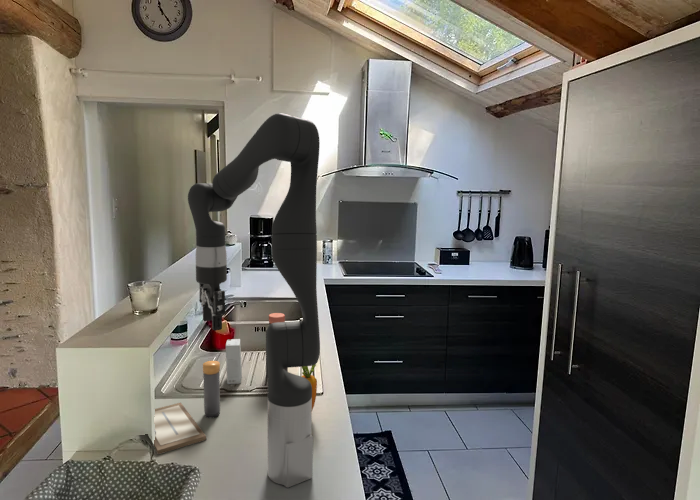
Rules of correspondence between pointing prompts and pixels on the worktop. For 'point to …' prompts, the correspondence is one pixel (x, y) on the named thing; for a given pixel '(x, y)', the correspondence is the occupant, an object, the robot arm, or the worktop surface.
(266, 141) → the robot arm
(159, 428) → the writing board
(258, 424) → the worktop surface
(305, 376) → the carrot
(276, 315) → the bottle
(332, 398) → the worktop surface
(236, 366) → the skincare box
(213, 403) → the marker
